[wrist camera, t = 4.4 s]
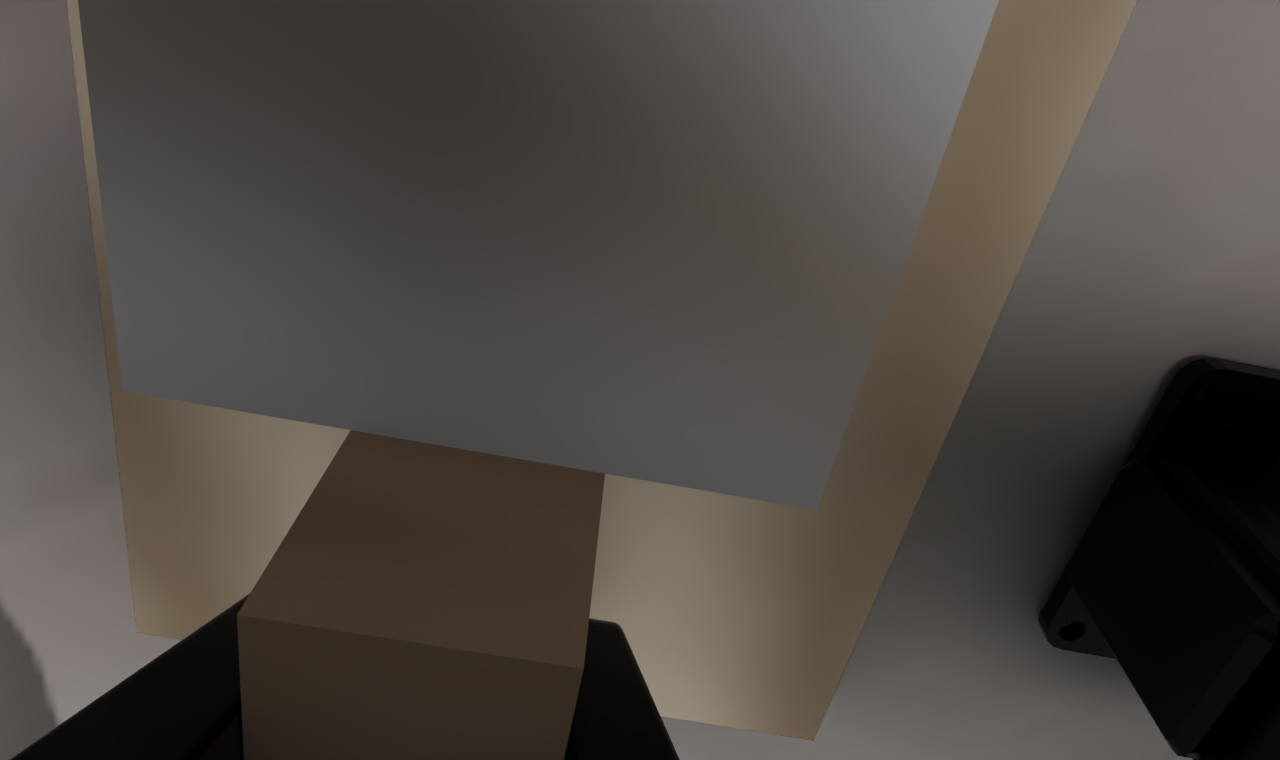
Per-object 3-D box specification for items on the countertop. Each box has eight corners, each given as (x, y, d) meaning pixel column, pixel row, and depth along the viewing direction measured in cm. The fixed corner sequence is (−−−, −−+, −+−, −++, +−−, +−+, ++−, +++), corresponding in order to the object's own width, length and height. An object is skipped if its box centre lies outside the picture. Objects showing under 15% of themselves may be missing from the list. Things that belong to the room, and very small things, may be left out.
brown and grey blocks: (661, 899, 11) (659, 1170, 9) (202, 835, 11) (68, 1100, 9) (1013, -135, 6) (1273, -173, 3) (97, -343, 5) (-384, -562, 3)
